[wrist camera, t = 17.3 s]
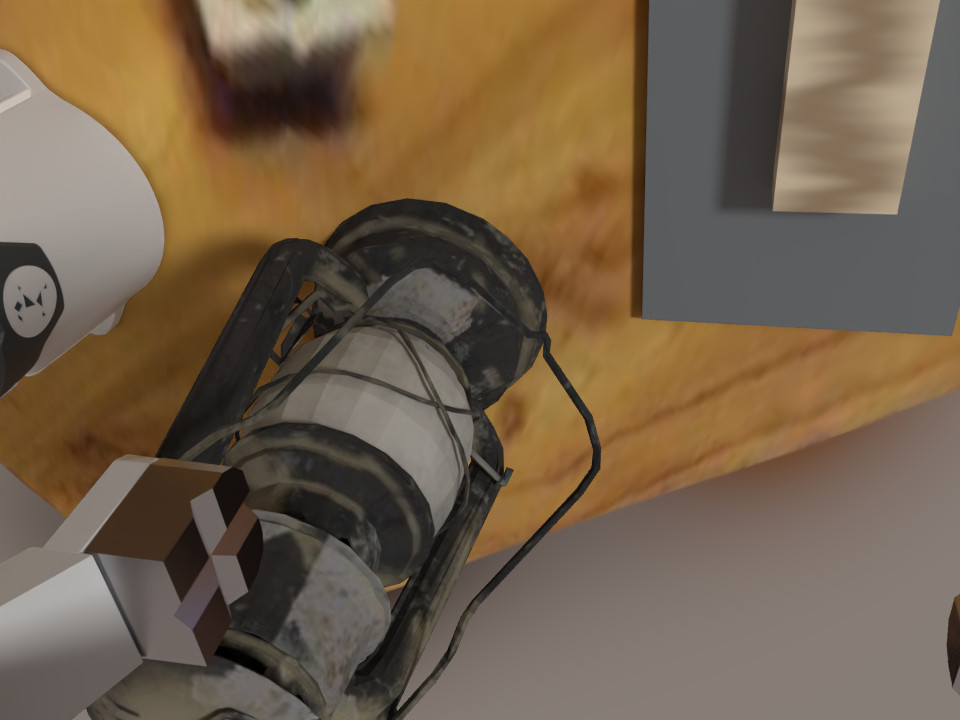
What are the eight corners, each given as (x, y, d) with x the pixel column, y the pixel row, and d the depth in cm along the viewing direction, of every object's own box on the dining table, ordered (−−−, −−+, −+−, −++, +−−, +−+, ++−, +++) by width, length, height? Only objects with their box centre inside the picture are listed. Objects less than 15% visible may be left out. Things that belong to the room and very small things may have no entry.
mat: (643, 313, 52) (642, 319, 52) (652, -118, 39) (651, -115, 39) (949, 329, 48) (951, 335, 48) (1070, -141, 36) (1075, -139, 35)
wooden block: (772, 211, 44) (803, -61, 37) (771, 189, 45) (800, -74, 38) (897, 214, 42) (953, -67, 35) (890, 191, 44) (942, -80, 37)
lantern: (243, 248, 56) (-120, 659, 32) (473, 66, 46) (189, 470, 22) (441, 452, 62) (257, 920, 39) (681, 331, 52) (629, 863, 29)
